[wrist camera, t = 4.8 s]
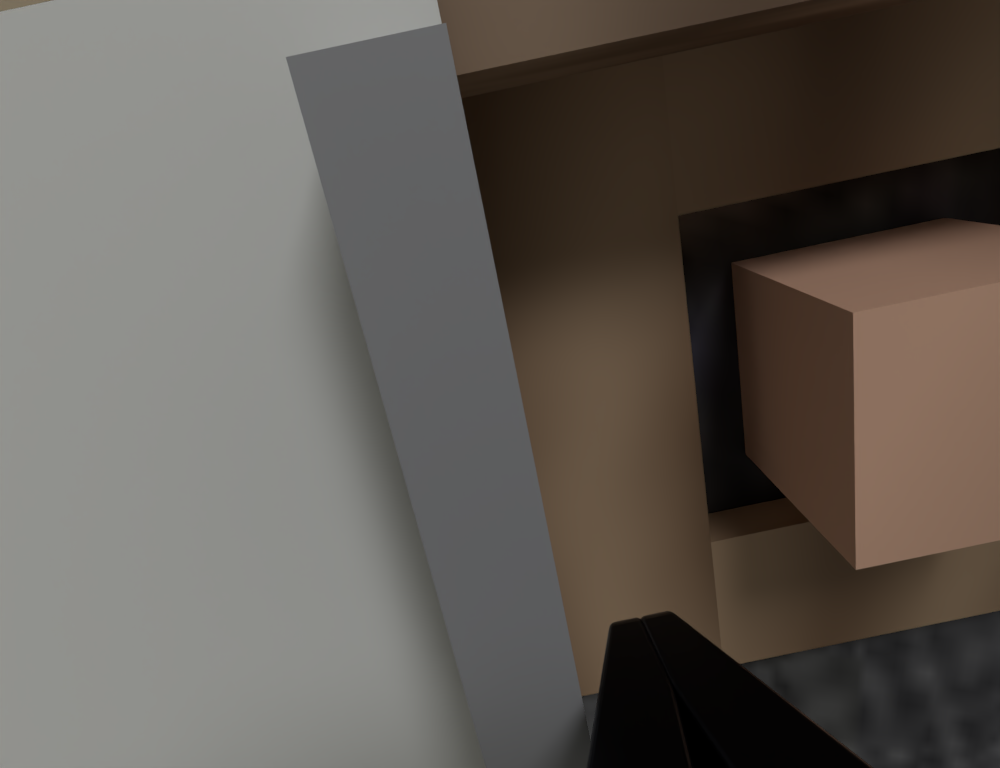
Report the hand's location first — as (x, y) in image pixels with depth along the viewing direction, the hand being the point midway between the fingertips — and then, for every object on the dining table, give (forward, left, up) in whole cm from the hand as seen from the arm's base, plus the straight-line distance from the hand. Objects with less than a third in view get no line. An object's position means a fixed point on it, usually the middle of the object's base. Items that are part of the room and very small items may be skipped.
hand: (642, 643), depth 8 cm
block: (-7, 0, -8) cm, 11 cm away
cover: (+6, 0, -2) cm, 6 cm away
